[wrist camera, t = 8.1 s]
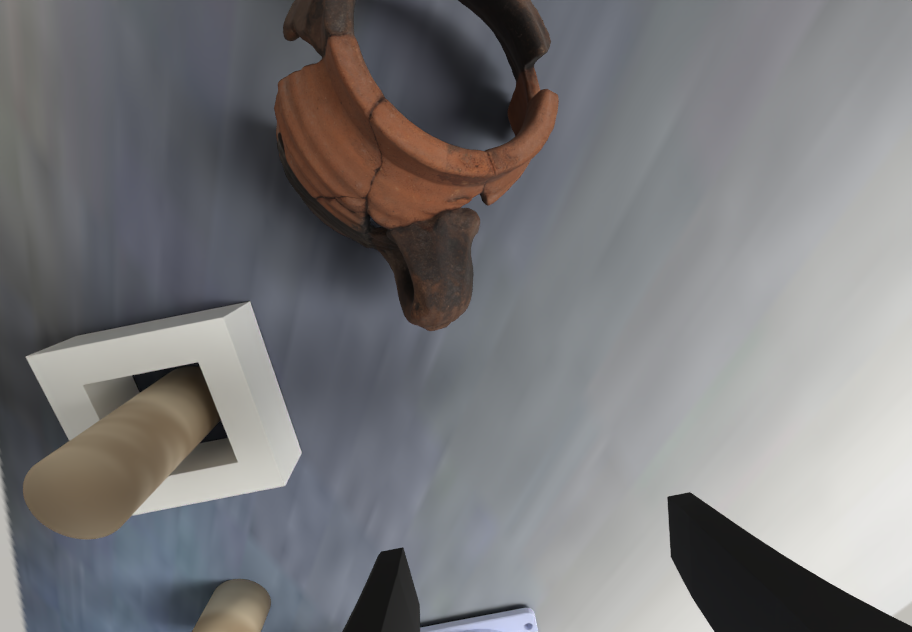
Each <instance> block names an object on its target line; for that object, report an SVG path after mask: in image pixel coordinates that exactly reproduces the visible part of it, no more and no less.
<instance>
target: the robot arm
mask: <svg viewBox="0 0 912 632" xmlns="http://www.w3.org/2000/svg"><path fill="white" fill-rule="evenodd" d="M668 514H669V531H670V548H671V558H672V560H673V562H674V564H675V566H676V568H677V570H678V572H679V573H680V575H681V577H682V579H683V581H684V583H685V585H686V587H687V589H688V591H689V592H690V594H691V596H692V598H693V599H694V601H695V603H696V604H697V606H698V607H699V609H700V610H701V612H702V613H703V615H704V616H705V618H706V619H707V621H708V623H709V624H710V626H711V627H712V629H713V630H714V632H912V626H910V625H908V624H906V623H904V622H902V621H899V620H898V619H896V618H894V617H892V616H890V615H888V614H886V613H884V612H882V611H880V610H878V609H876V608H875V607H873V606H871V605H869V604H867V603H865V602H863V601H861V600H859V599H858V598H856V597H854V596H852V595H850V594H848V593H846V592H845V591H843V590H841V589H839V588H837V587H836V586H834V585H832V584H830V583H829V582H827V581H825V580H823V579H822V578H820V577H818V576H817V575H815V574H813V573H812V572H810V571H808V570H807V569H805V568H803V567H802V566H800V565H798V564H797V563H795V562H793V561H792V560H790V559H789V558H787V557H785V556H784V555H782V554H781V553H779V552H777V551H776V550H774V549H773V548H771V547H770V546H768V545H767V544H765V543H764V542H762V541H761V540H759V539H757V538H756V537H754V536H753V535H751V534H750V533H748V532H747V531H745V530H744V529H743V528H741V527H740V526H738V525H737V524H735V523H734V522H732V521H731V520H729V519H728V518H726V517H725V516H724V515H722V514H721V513H719V512H718V511H716V510H715V509H713V508H712V507H711V506H709V505H708V504H706V503H705V502H703V501H702V500H700V499H699V498H698V497H696V496H695V495H693V494H692V493H690V492H689V493H684V494H679V495H674V496H669V497H668ZM343 632H538V629H537V623H536V618H535V613H534V611H533V610H532V609H530V608H521V609H515V610H510V611H505V612H500V613H494V614H489V615H484V616H479V617H473V618H468V619H463V620H458V621H452V622H447V623H442V624H437V625H431V626H426V627H421V628H420V605H419V601H418V598H417V594H416V591H415V587H414V584H413V580H412V577H411V573H410V569H409V566H408V562H407V559H406V555H405V552H404V548H398V549H393V550H387V551H382V552H381V553H380V554H379V555H378V557H377V559H376V562H375V564H374V567H373V569H372V571H371V573H370V576H369V578H368V580H367V582H366V584H365V587H364V589H363V591H362V593H361V595H360V597H359V599H358V602H357V604H356V606H355V608H354V610H353V612H352V614H351V616H350V618H349V620H348V622H347V624H346V626H345V628H344V630H343Z"/></svg>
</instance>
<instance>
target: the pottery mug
mask: <svg viewBox="0 0 912 632" xmlns="http://www.w3.org/2000/svg"><path fill="white" fill-rule="evenodd" d="M458 1H460V2H461V3H462V4H463V5H465V6H466V7H468V8H469V9H470V10H471V11H473V12H474V13H475V14H476V15H477V16H479V17H480V18H481V19H482V20H483V21H484V22H485V23H486V24H487V25H488V26H489V28H490V29H491V30H492V31H493V32H494V34H495V36H496V38H497V39H498V40H499V42H500V44H501V46H502V48H503V50H504V52H505V54H506V57H507V59H508V62H509V64H510V66H511V69H512V72H513V75H514V77H515V80H516V88H515V91H514V93H513V96H512V99H511V102H510V105H509V107H508V119H509V122H510V124H511V128H512V130H513V132H514V134H515V137H514V138H513V139H512V140H511V141H509V142H507V143H505V144H503V145H501V146H498V147H495V148H492V149H488V150H485V151H481V150H470V149H464V148H461V147H458V146H454V145H451V144H448V143H445V142H443V141H441V140H439V139H437V138H435V137H433V136H431V135H429V134H428V133H426V132H424V131H423V130H421V129H420V128H418V127H417V126H416V125H414V124H413V123H411V122H410V121H409V120H408V119H407V118H405V117H404V116H403V115H402V114H401V113H400V112H399V111H398V110H397V109H396V108H395V107H394V106H393V105H392V104H391V103H390V102H389V101H388V100H387V99H386V98H385V97H384V95H383V94H382V91H381V90H380V89H379V87H378V86H377V84H376V83H375V81H374V80H373V78H372V76H371V74H370V72H369V70H368V68H367V66H366V64H365V62H364V59H363V57H362V54H361V51H360V48H359V45H358V42H357V40H356V38H355V36H354V7H355V2H356V0H295V1H294V2H293V4H292V6H291V8H290V10H289V12H288V14H287V16H286V18H285V21H284V25H283V34H284V37H285V39H286V40H288V41H294V40H296V39H297V38H299V37H301V38H302V39H303V40H305V41H306V42H308V43H309V44H311V45H312V46H313V47H314V48H315V50H316V51H317V52H318V53H319V54H320V55H321V56H322V60H321V61H319V62H318V63H316V64H310V65H307V66H304V67H303V68H302V70H299V71H295V72H293V73H291V74H290V75H288V76H287V77H285V78H283V79H281V80H280V81H279V82H278V93H277V96H276V102H275V106H274V110H275V114H276V119H277V128H276V136H277V147H278V151H279V156H280V160H281V163H282V165H283V168H284V171H285V174H286V177H287V178H288V181H289V182H290V184H291V185H292V186H293V188H294V189H295V191H296V192H297V193H298V194H299V195H300V197H301V198H302V200H303V201H304V202H305V204H306V205H307V206H308V208H309V209H310V210H311V211H312V212H313V213H314V214H315V215H316V216H317V217H318V218H319V219H320V220H321V221H322V222H324V223H325V224H326V225H327V226H329V227H330V228H332V229H333V230H335V231H336V232H338V233H340V234H342V235H344V236H346V237H349V238H351V239H352V240H354V241H356V242H358V243H360V244H362V245H363V246H364V247H366V248H374V249H377V250H378V251H379V252H380V253H381V254H382V256H383V257H384V258H385V259H386V260H387V262H388V263H389V265H390V267H391V269H392V270H393V272H394V276H395V281H396V285H397V291H398V296H399V301H400V304H401V307H402V310H403V313H404V316H405V317H406V319H407V320H408V321H409V322H410V323H412V324H414V325H418V326H420V327H423V328H425V329H426V330H428V331H435V330H438V329H442V328H445V327H447V326H448V325H449V324H450V323H451V322H453V321H455V320H456V319H457V318H458V317H459V316H460V315H461V314H463V313H464V312H465V311H466V309H467V308H468V305H469V303H470V300H471V296H472V287H473V265H472V259H471V245H472V241H473V238H474V237H475V235H476V234H477V233H478V230H479V225H480V218H479V216H478V214H477V213H476V212H475V211H473V210H471V209H470V208H461V207H462V206H463V205H465V204H467V203H469V202H470V201H471V199H472V198H473V197H475V196H476V195H478V194H480V196H481V198H482V201H483V202H484V203H485V204H486V205H490V204H492V203H494V202H495V201H497V200H498V199H499V198H500V197H501V196H502V195H503V194H504V193H505V192H506V191H507V190H509V188H510V187H511V186H512V185H513V184H514V183H515V182H516V181H517V180H518V179H519V178H520V176H521V175H522V173H523V172H524V170H525V169H526V167H527V166H528V164H529V162H530V160H531V159H532V158H533V157H534V156H535V155H536V154H537V153H538V152H539V151H540V150H541V148H542V147H543V145H544V144H545V142H546V141H547V140H548V137H549V135H550V133H551V131H552V130H553V128H554V124H555V119H556V115H557V111H558V102H559V101H558V95H557V94H556V93H554V92H552V91H550V90H548V89H543V90H540V88H539V84H538V80H537V76H536V72H535V69H534V64H535V62H536V61H537V60H538V59H539V58H541V57H542V56H543V55H544V54H546V53H547V51H548V49H549V47H550V43H551V40H550V37H549V33H548V31H547V29H546V27H545V25H544V23H543V20H542V19H541V17H540V15H539V13H538V11H537V9H536V8H535V7H534V5H533V4H532V2H531V0H458ZM369 215H370V216H371V217H372V219H373V220H374V221H375V222H376V223H377V224H379V225H380V226H382V227H379V228H375V227H373V226H372V225H371V222H370V216H369ZM383 227H384V228H383Z"/></svg>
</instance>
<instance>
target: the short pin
mask: <svg viewBox="0 0 912 632" xmlns="http://www.w3.org/2000/svg"><path fill="white" fill-rule="evenodd" d="M270 606H271V599H270V596H269V594H268V592H267V591H266V590H265V589H264V588H263V587H262V586H261V585H259V584H257V583H255V582H253V581H250V580H246V579H233V580H228V581H226V582H224V583H222V584H220V585H219V586H218V587H217V588H216V589H215V591H214V593H213V594H212V596H211V598H210V600H209V602H208V603H207V605H206V607H205V609H204V611H203V612H202V614H201V616H200V618H199V620H198V622H197V623H196V625H195V627H194V629H193V631H192V632H261V630H262V627H263V625H264V622H265V620H266V617H267V614H268V612H269V609H270Z"/></svg>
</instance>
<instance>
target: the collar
mask: <svg viewBox="0 0 912 632" xmlns="http://www.w3.org/2000/svg"><path fill="white" fill-rule="evenodd" d="M26 359H27V361H28V362H29V364H30V366H31V368H32V370H33V372H34V374H35V376H36V378H37V380H38V382H39V384H40V385H41V387H42V389H43V391H44V393H45V395H46V397H47V399H48V401H49V403H50V405H51V407H52V409H53V410H54V412H55V414H56V416H57V418H58V420H59V422H60V424H61V426H62V428H63V430H64V432H65V433H66V435H67V437H68V439H69V441H70V440H72V439H73V438H75V437H76V436H77V435H79V434H80V433H82V432H83V431H85V430H86V429H88V428H89V427H91V426H92V425H94V424H95V423H96V422H98V421H99V420H101V419H102V418H104V417H105V416H107V415H108V414H110V413H111V412H113V411H114V410H115V409H117V408H118V407H120V406H121V405H123V404H124V403H126V402H127V401H129V400H130V399H132V398H133V397H134V396H136V395H137V394H139V393H140V392H139V390H138V388H137V386H136V384H135V381H134V379H133V377H132V375H136V374H141V373H146V372H151V371H156V370H161V369H166V368H171V367H176V366H181V365H187V364H192V363H197V362H198V363H199V365H200V368H201V370H202V373H203V375H204V378H205V380H206V383H207V385H208V388H209V390H210V393H211V395H212V398H213V401H214V403H215V406H216V408H217V411H218V413H219V416H220V418H221V421H222V423H223V426H224V428H225V431H226V433H227V436H228V438H224V439H219V440H214V441H209V442H204V443H199V444H198V445H197V446H196V447H195V448H194V449H193V450H192V451H191V453H190V454H189V455H188V456H187V457H186V458H185V459H184V460H183V461H182V462H181V463H180V464H179V465H178V466H177V467H176V469H175V470H174V471H173V472H172V473H171V474H170V475H169V476H168V477H167V478H166V479H165V480H164V481H163V482H162V484H161V485H160V486H159V487H158V488H157V489H156V490H155V491H154V492H153V493H152V494H151V495H150V496H149V497H148V498H147V500H146V501H145V502H144V503H143V504H142V505H141V506H140V507H139V508H138V509H137V510H136V511H135V512H134V513H133V514H132V515H137V514H143V513H148V512H153V511H158V510H163V509H168V508H173V507H179V506H184V505H189V504H194V503H199V502H204V501H210V500H215V499H220V498H225V497H230V496H235V495H240V494H246V493H251V492H256V491H261V490H266V489H271V488H276V487H282V486H285V485H286V483H287V481H288V479H289V477H290V475H291V473H292V471H293V469H294V467H295V465H296V463H297V461H298V459H299V457H300V456H301V454H302V452H301V449H300V446H299V443H298V440H297V437H296V434H295V431H294V428H293V426H292V423H291V420H290V417H289V414H288V411H287V408H286V405H285V402H284V399H283V396H282V394H281V391H280V388H279V385H278V382H277V379H276V376H275V373H274V370H273V367H272V364H271V361H270V359H269V356H268V353H267V350H266V347H265V344H264V341H263V338H262V335H261V332H260V329H259V327H258V324H257V321H256V318H255V315H254V312H253V309H252V306H251V303H250V301H249V302H244V303H239V304H234V305H229V306H224V307H219V308H214V309H209V310H204V311H199V312H194V313H189V314H184V315H179V316H174V317H169V318H164V319H159V320H154V321H149V322H144V323H139V324H134V325H129V326H124V327H119V328H114V329H109V330H104V331H98V332H93V333H88V334H83V335H78V336H75V337H72V338H70V339H68V340H65V341H63V342H60V343H58V344H55V345H53V346H50V347H48V348H45V349H43V350H40V351H38V352H35V353H33V354H31V355H28V356H26Z"/></svg>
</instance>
